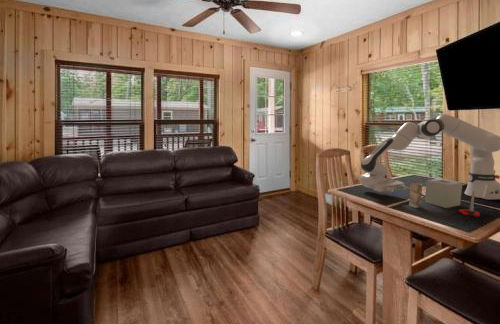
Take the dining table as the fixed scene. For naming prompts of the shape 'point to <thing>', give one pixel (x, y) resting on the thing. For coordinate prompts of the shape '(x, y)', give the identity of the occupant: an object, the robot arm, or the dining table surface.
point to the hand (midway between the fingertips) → (400, 189)
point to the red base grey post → (470, 211)
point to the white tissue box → (443, 192)
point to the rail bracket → (415, 195)
